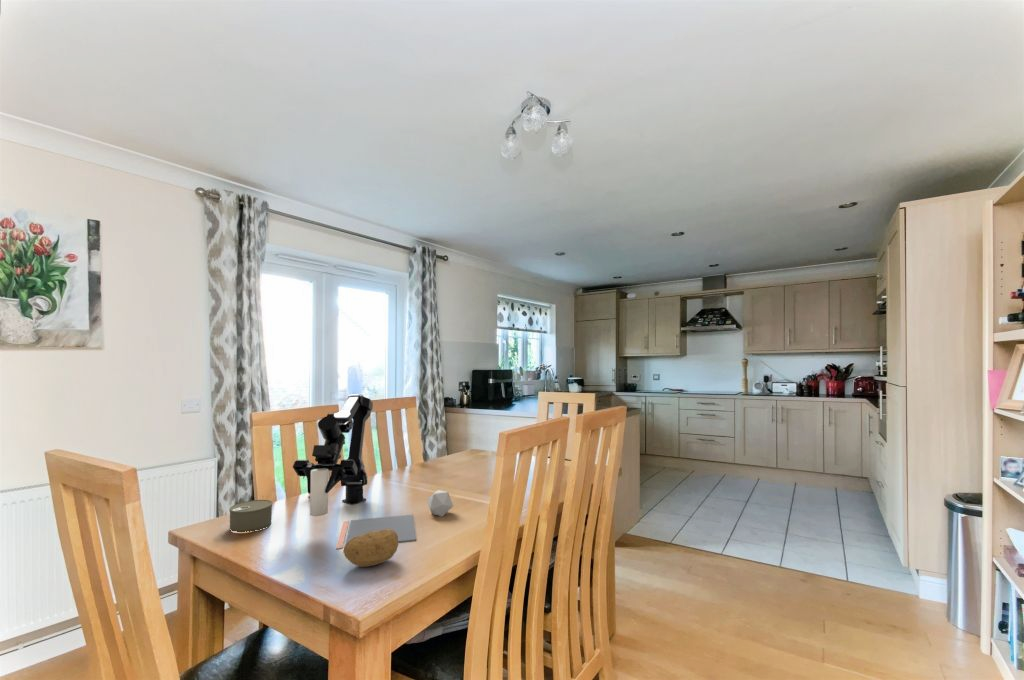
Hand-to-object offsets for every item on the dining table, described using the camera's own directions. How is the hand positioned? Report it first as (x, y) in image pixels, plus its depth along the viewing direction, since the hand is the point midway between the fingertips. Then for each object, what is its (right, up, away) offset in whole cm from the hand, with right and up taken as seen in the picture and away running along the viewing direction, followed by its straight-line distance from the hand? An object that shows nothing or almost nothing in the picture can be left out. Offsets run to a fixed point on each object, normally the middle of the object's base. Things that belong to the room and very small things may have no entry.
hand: (317, 492), depth 135 cm
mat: (+18, -14, +5) cm, 23 cm away
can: (-25, -14, +8) cm, 30 cm away
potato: (+22, -13, -18) cm, 31 cm away
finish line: (+7, -14, +2) cm, 15 cm away
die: (+34, -14, +20) cm, 42 cm away
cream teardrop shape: (0, -7, +1) cm, 7 cm away
